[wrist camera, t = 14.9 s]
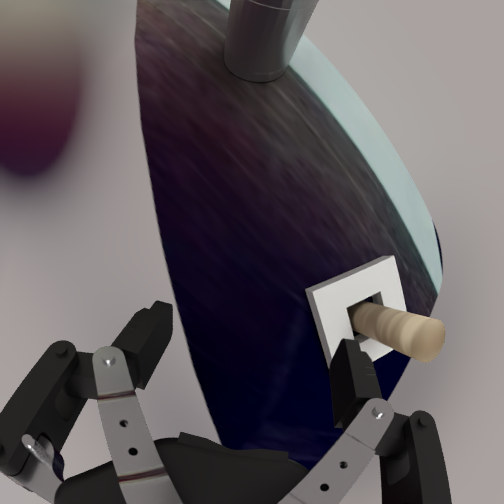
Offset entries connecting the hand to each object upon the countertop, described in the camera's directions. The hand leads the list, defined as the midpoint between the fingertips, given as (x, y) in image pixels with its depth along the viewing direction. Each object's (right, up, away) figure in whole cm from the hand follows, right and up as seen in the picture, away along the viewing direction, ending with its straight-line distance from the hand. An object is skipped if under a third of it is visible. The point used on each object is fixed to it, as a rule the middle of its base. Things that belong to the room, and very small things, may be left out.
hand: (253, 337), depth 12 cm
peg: (+14, -4, +21) cm, 26 cm away
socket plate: (+14, -4, +21) cm, 26 cm away
